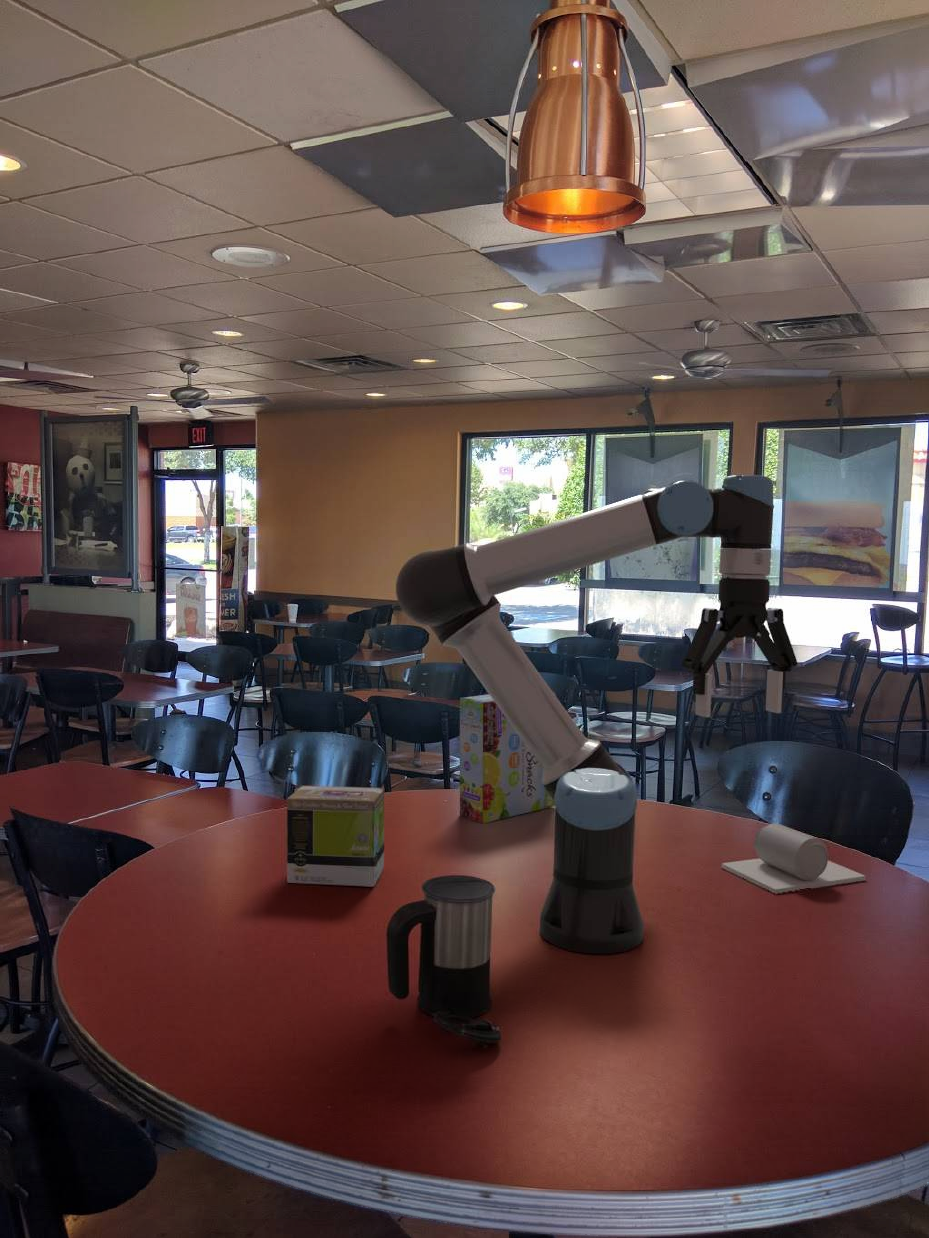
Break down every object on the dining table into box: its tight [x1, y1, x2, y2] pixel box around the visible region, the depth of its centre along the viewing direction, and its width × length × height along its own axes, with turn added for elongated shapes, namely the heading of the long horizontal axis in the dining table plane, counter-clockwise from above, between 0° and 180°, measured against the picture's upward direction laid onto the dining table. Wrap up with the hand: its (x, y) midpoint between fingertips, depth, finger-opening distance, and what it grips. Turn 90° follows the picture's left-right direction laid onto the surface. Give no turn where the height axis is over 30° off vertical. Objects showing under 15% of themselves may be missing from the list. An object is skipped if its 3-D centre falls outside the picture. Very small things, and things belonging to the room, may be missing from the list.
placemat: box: [721, 857, 866, 895], centre depth 169 cm, size 20×14×1 cm
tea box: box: [286, 785, 385, 888], centre depth 161 cm, size 15×10×15 cm
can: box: [753, 823, 829, 881], centre depth 167 cm, size 8×8×12 cm
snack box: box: [459, 692, 557, 824], centre depth 204 cm, size 22×9×26 cm, turn 130°
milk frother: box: [386, 874, 502, 1047], centre depth 113 cm, size 14×16×15 cm
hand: (738, 714), depth 147 cm, fingers open, 13 cm apart
